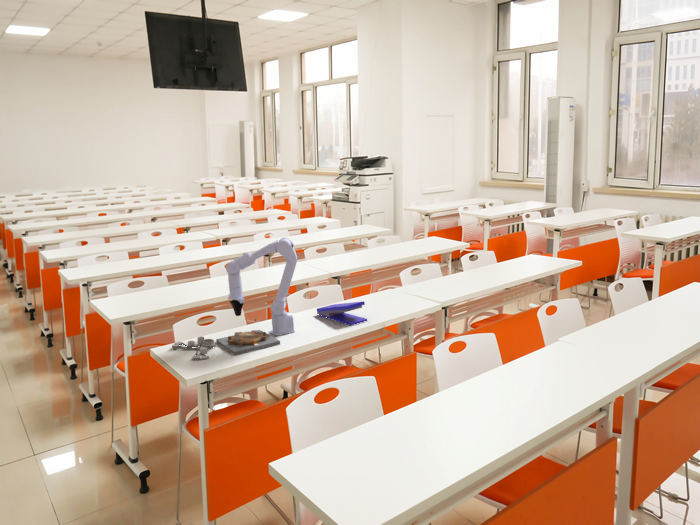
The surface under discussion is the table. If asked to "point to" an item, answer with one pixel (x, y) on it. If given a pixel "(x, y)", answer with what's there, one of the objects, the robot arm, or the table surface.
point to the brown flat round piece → (247, 338)
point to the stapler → (342, 312)
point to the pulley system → (200, 340)
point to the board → (248, 348)
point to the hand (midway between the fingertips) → (238, 315)
